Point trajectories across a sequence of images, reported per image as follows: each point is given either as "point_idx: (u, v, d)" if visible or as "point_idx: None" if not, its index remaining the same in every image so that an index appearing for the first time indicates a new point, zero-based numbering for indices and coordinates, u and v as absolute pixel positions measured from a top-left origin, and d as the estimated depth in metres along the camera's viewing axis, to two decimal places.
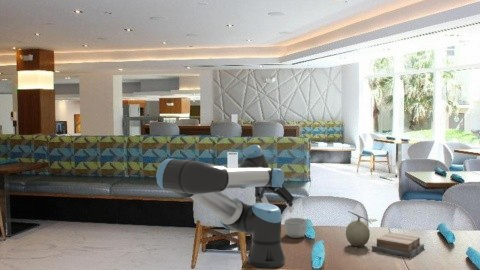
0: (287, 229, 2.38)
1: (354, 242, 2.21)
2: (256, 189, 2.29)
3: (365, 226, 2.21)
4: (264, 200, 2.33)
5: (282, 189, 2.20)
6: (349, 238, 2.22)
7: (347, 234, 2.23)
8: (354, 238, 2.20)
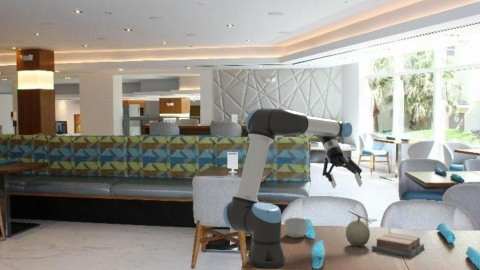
0: (287, 229, 2.38)
1: (354, 242, 2.21)
2: (326, 163, 2.38)
3: (365, 226, 2.21)
4: None
5: None
6: (349, 238, 2.22)
7: (347, 234, 2.23)
8: (354, 238, 2.20)
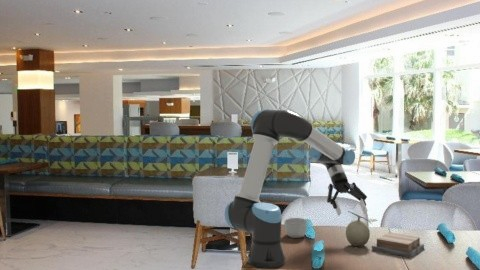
0: (287, 229, 2.38)
1: (354, 242, 2.21)
2: (331, 190, 2.36)
3: (365, 226, 2.21)
4: None
5: None
6: (349, 238, 2.22)
7: (347, 234, 2.23)
8: (354, 238, 2.20)
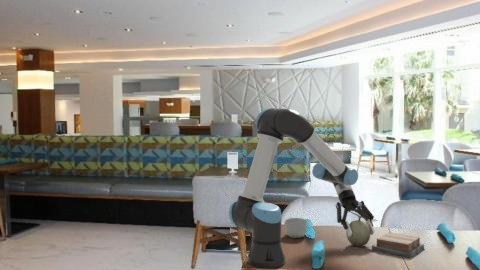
0: (287, 229, 2.38)
1: (355, 242, 2.21)
2: (339, 209, 2.27)
3: (366, 226, 2.21)
4: None
5: None
6: (350, 238, 2.22)
7: None
8: (354, 238, 2.20)
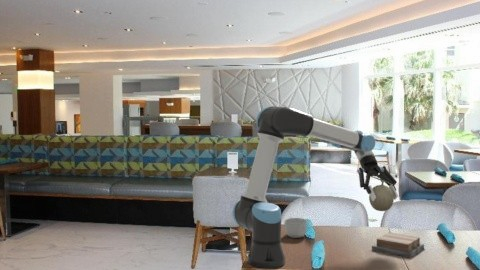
0: (287, 229, 2.38)
1: (378, 206, 2.18)
2: (362, 174, 2.24)
3: (389, 190, 2.19)
4: None
5: None
6: (373, 202, 2.19)
7: (371, 199, 2.20)
8: (378, 203, 2.17)
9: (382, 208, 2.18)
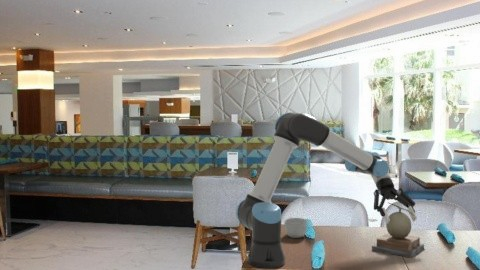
0: (287, 229, 2.38)
1: (396, 234, 2.15)
2: (377, 196, 2.21)
3: (407, 218, 2.16)
4: None
5: None
6: (390, 230, 2.16)
7: (388, 226, 2.17)
8: (395, 230, 2.15)
9: (399, 236, 2.15)
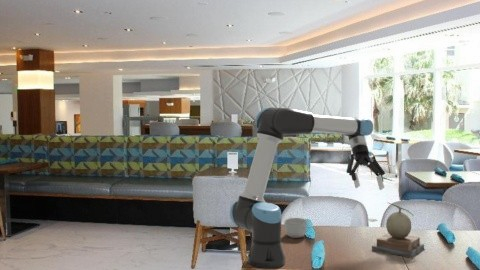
0: (287, 229, 2.38)
1: (396, 234, 2.15)
2: (352, 161, 2.30)
3: (407, 218, 2.16)
4: None
5: None
6: (390, 230, 2.16)
7: (388, 226, 2.17)
8: (395, 230, 2.15)
9: (399, 236, 2.15)
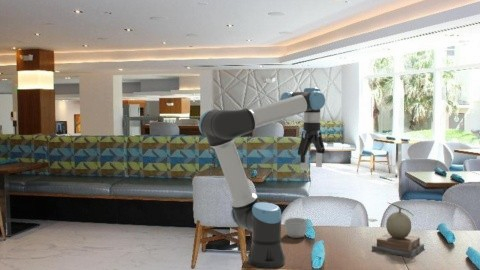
0: (287, 229, 2.38)
1: (396, 234, 2.15)
2: (305, 142, 2.19)
3: (407, 218, 2.16)
4: None
5: None
6: (390, 230, 2.16)
7: (388, 226, 2.17)
8: (395, 230, 2.15)
9: (399, 236, 2.15)
